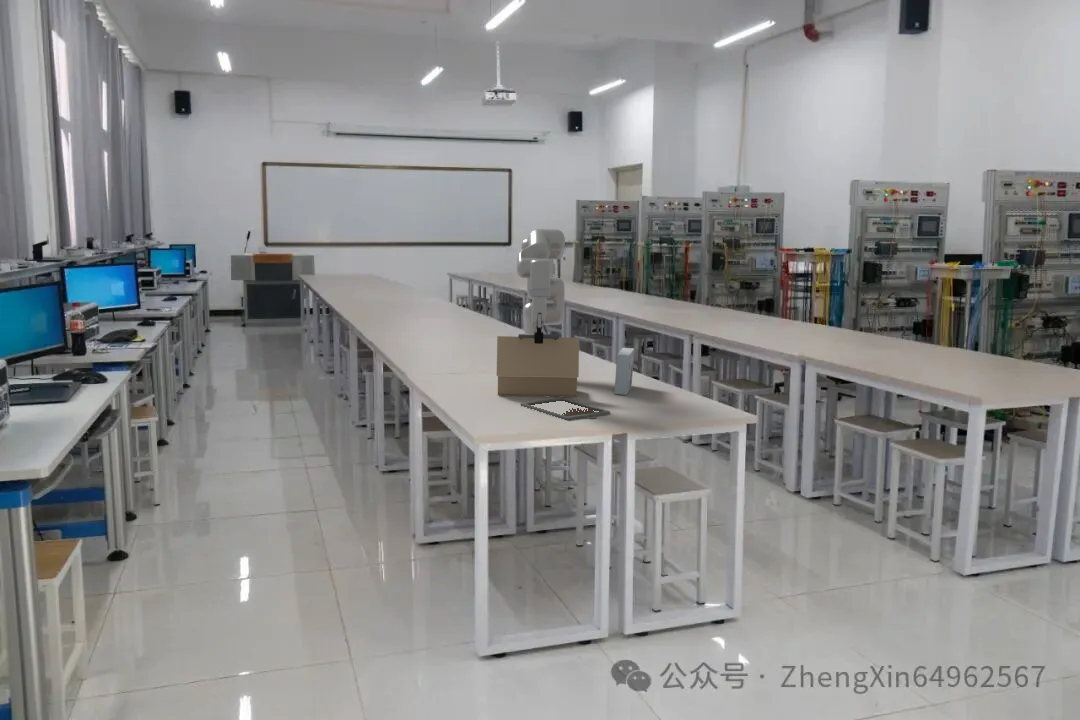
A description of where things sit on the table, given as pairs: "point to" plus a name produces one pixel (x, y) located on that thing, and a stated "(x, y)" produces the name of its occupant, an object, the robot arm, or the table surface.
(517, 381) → the mailer box
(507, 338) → the lid
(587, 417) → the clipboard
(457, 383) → the table surface
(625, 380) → the skincare box
